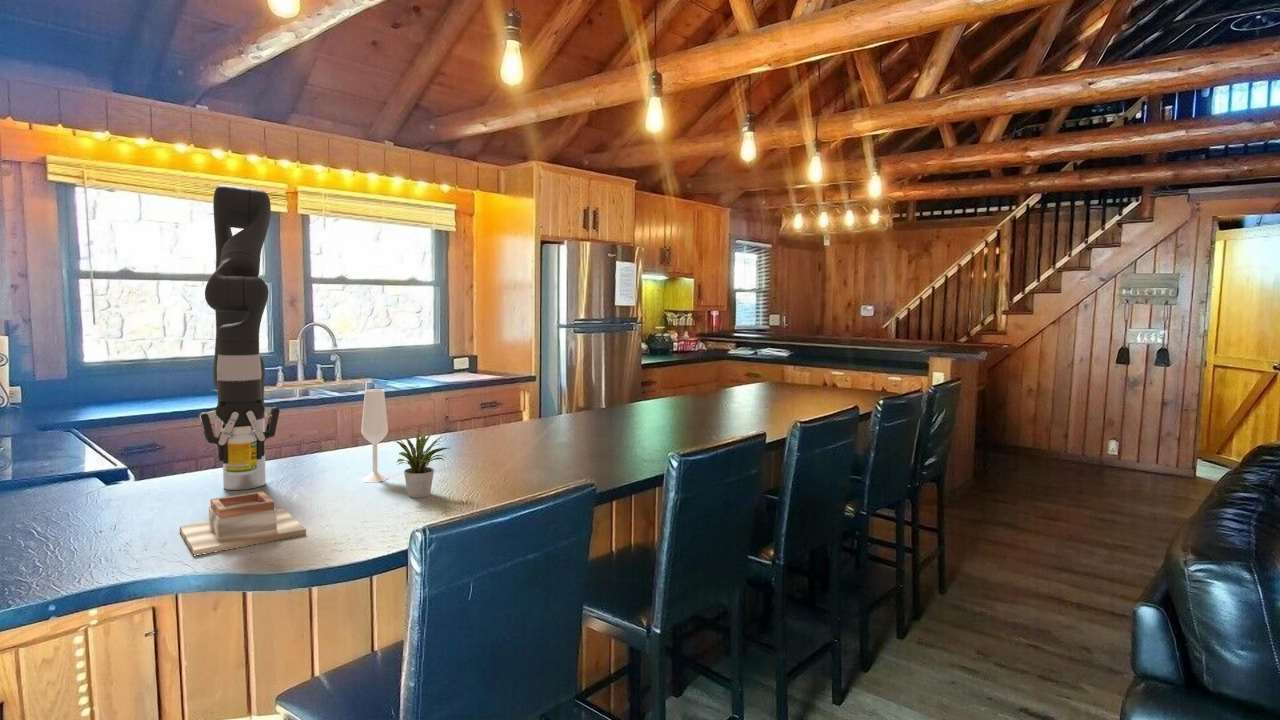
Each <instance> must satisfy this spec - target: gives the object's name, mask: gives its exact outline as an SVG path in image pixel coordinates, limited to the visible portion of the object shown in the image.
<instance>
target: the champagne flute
mask: <svg viewBox="0 0 1280 720" xmlns="http://www.w3.org/2000/svg"><path fill="white" fill-rule="evenodd" d="M363 395H364V396H363V397H364V398H363V408H362V418H361V419H362V420H361V429H360V433H361V435H362V437H364V439H365V440H366V441H368V442H369V443H370V444H372V472H371V473H370V474H368V475H367V476H365V477H364V478H362V479H361V481H362V482H364V483H379V482H380V481H382V482H385V481H387V480H386V479H388V480H389V477H388V476H386V475H384V474H382V473H380V472H378V444H379V443H380V442H382V440H383V439H384V438H386V437H387V435H388V433H389V423H388V415H387V413H388V412H387V404H386V397H385V396H386V395H385V390H384V389H381V388H377V389H376V388H375V389H374V388H373V389H365V390H364V394H363ZM384 480H385V481H384Z"/></svg>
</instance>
